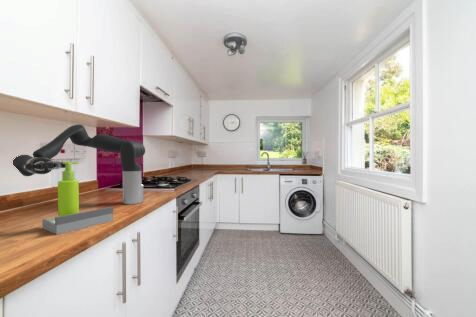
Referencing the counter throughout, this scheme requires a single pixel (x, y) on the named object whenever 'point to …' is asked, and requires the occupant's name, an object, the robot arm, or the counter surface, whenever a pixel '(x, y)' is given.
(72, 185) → the soap dispenser
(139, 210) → the counter surface
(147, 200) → the counter surface
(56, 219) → the dock
